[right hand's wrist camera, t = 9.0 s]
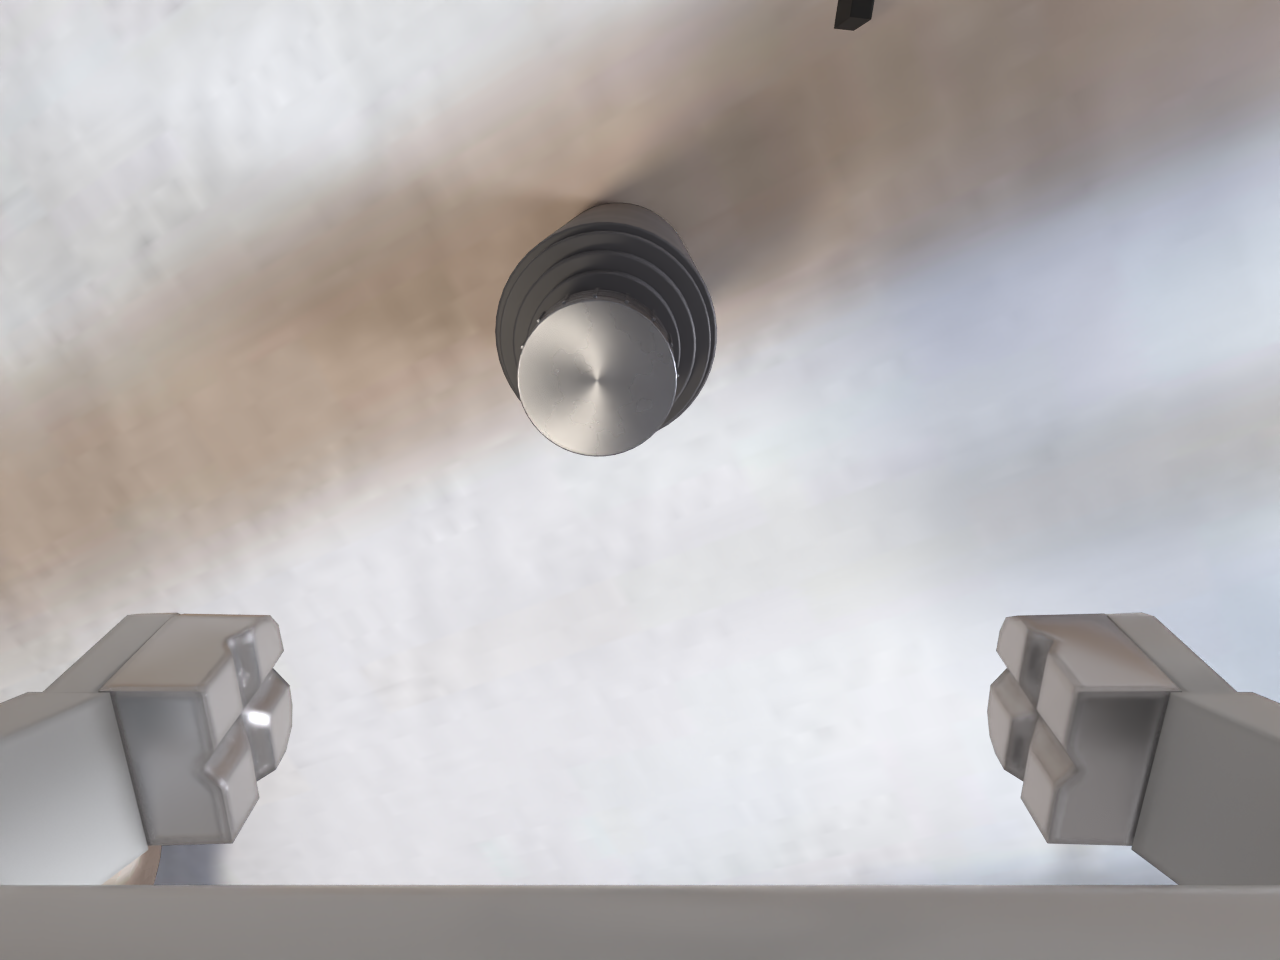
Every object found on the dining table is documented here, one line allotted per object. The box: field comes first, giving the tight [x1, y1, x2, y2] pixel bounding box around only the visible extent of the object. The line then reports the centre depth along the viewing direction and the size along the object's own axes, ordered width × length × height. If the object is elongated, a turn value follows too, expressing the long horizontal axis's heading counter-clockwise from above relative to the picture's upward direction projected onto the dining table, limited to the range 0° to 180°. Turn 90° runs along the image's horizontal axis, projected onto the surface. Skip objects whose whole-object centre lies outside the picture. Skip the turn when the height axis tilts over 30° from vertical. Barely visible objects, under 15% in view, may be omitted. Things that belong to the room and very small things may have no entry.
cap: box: [517, 287, 679, 456], centre depth 22 cm, size 4×4×2 cm
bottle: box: [495, 203, 717, 431], centre depth 31 cm, size 7×7×21 cm
